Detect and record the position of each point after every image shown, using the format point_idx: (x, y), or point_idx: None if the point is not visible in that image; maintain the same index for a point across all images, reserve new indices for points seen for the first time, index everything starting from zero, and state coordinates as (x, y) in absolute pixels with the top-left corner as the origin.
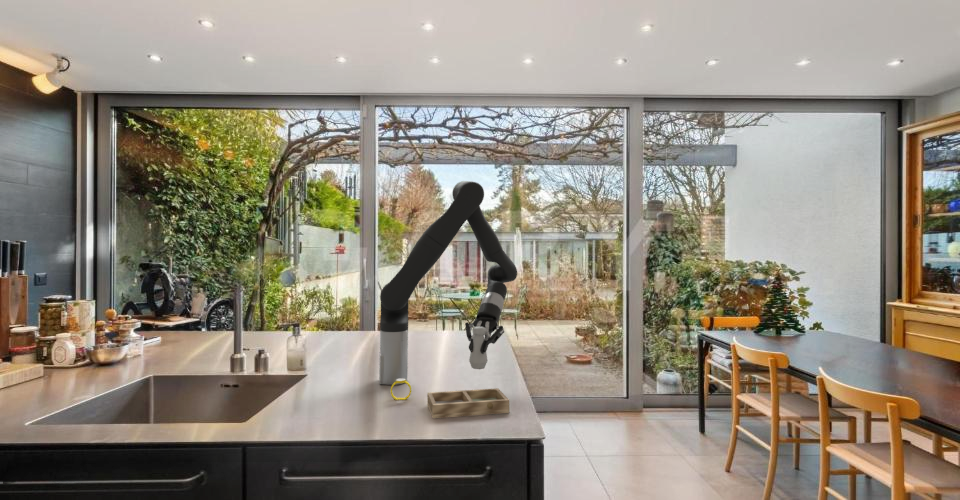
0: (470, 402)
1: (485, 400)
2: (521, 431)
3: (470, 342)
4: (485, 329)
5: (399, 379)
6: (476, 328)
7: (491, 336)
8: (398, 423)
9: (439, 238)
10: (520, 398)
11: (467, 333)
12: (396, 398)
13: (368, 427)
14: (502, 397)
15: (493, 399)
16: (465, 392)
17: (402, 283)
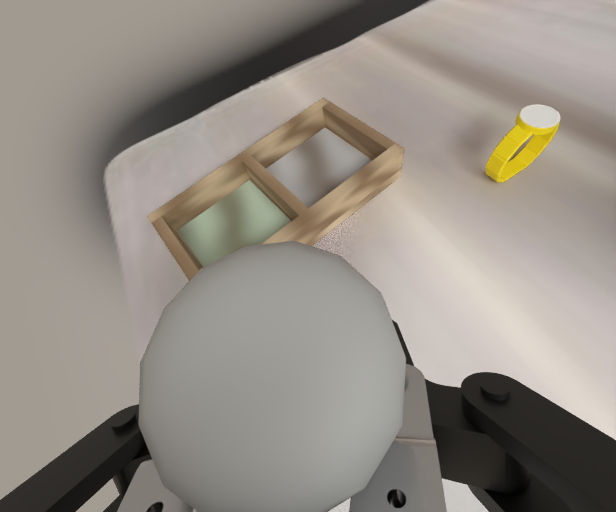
0: (245, 151)
1: (211, 181)
2: (130, 166)
3: (404, 353)
4: (141, 370)
5: (546, 115)
6: (279, 249)
7: (122, 437)
8: (375, 81)
9: None
10: None
11: (542, 412)
12: (519, 160)
13: (411, 48)
14: (173, 233)
15: None
16: (295, 205)
17: None
